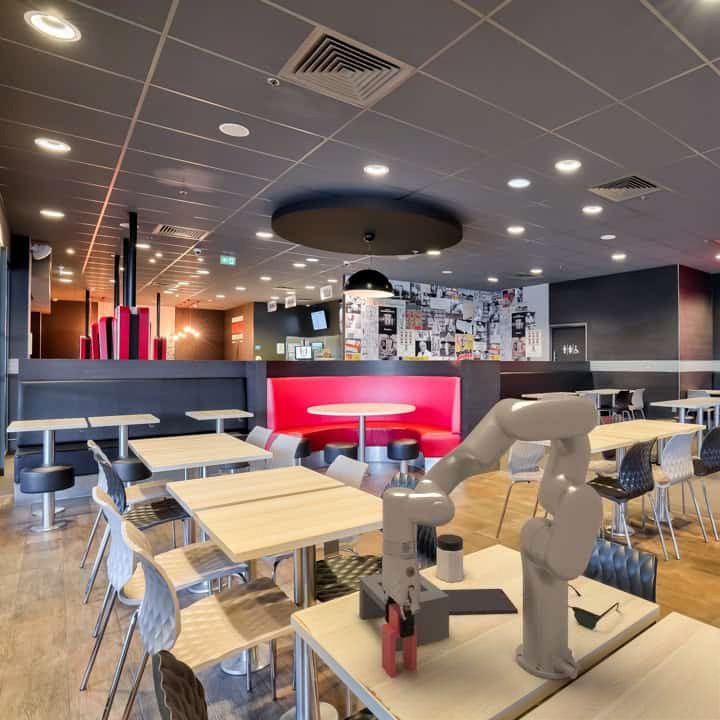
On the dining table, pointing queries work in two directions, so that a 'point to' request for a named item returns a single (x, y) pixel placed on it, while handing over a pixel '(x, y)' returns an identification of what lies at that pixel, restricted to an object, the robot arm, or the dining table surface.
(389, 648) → the red stepped block
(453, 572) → the jar
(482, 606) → the notebook
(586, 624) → the sunglasses
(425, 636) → the grey frame with crossbar
